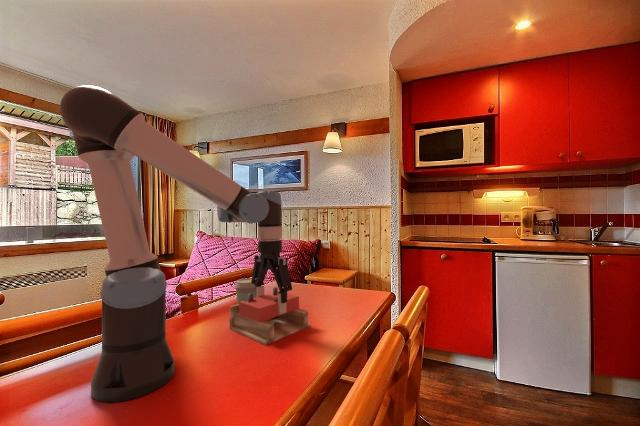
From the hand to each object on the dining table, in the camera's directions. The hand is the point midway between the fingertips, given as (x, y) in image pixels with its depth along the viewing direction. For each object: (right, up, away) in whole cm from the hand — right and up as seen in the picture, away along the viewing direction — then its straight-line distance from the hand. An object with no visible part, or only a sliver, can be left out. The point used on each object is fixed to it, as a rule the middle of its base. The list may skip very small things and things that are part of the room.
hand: (271, 309), depth 92 cm
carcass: (0, -6, 0) cm, 6 cm away
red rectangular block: (0, -1, 0) cm, 1 cm away
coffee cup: (-11, -6, +13) cm, 18 cm away
